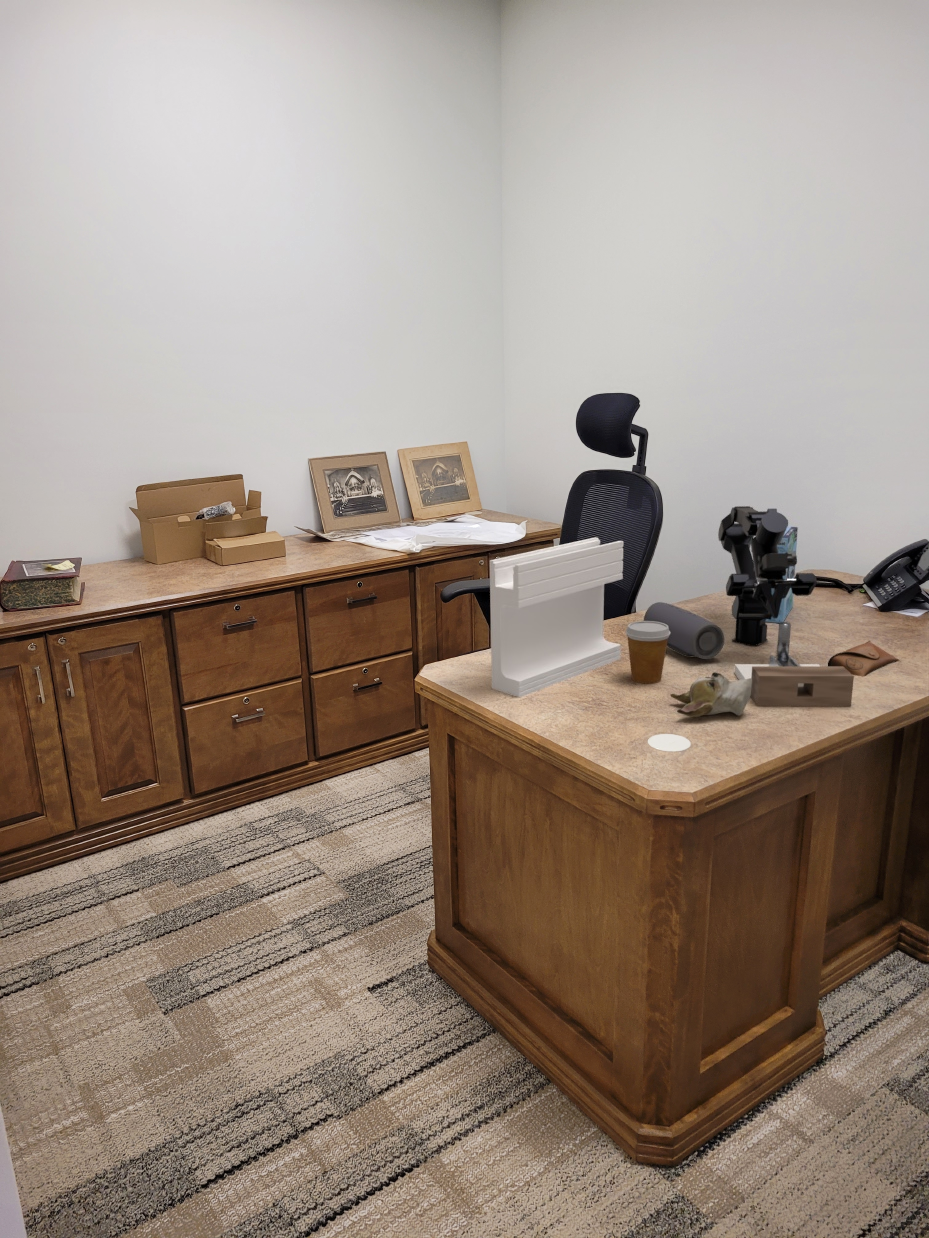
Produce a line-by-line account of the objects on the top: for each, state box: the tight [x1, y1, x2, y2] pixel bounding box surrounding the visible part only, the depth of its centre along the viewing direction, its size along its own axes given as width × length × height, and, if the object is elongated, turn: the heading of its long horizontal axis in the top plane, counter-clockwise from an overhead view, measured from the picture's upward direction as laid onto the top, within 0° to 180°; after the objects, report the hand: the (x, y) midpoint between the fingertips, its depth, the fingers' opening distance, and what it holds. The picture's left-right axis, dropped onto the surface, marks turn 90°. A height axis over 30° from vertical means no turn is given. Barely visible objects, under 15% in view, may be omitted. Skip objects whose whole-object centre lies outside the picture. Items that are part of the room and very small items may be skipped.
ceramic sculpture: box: [669, 672, 752, 718], centre depth 169 cm, size 11×9×15 cm
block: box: [489, 537, 624, 698], centre depth 192 cm, size 35×8×28 cm, turn 134°
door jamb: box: [750, 665, 855, 707], centre depth 175 cm, size 6×18×6 cm, turn 86°
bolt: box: [776, 621, 793, 666], centre depth 184 cm, size 8×2×10 cm, turn 176°
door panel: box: [733, 654, 821, 687], centre depth 186 cm, size 11×18×5 cm, turn 86°
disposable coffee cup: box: [625, 620, 670, 684], centre depth 189 cm, size 10×10×12 cm
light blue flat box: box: [766, 526, 799, 624], centre depth 236 cm, size 20×5×23 cm, turn 152°
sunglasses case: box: [827, 640, 900, 678], centre depth 196 cm, size 18×7×7 cm
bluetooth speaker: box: [643, 601, 726, 660], centre depth 208 cm, size 23×9×10 cm, turn 18°
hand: (775, 617), depth 192 cm, fingers closed
